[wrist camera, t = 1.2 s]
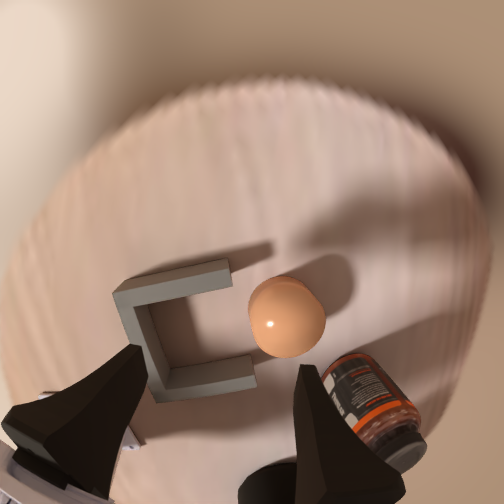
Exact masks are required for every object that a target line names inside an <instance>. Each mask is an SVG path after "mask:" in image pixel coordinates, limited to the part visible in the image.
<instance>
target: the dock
mask: <svg viewBox="0 0 504 504" xmlns="http://www.w3.org/2000/svg"><path fill="white" fill-rule="evenodd" d="M232 286H233V284H232V277H231V271H230V267H229V262H228V258H224V259H220V260H215V261H211V262H206V263H202V264H197V265H192V266H188V267H183V268H179V269H174V270H170V271H165V272H160V273H156V274H151V275H147V276H142V277H137V278H133V279H128V280H125V281H124V282H123V283H122V284H121V285H120V286H119V287H118V288H117V289H116V290H115V291H114V292H113V293H112V295H113V298H114V301H115V304H116V307H117V310H118V312H119V315H120V318H121V321H122V324H123V326H124V329H125V332H126V334H127V337H128V339H129V342H130V344H134V345H140V346H142V350H143V354H144V359H145V363H146V367H147V372H148V376H149V377H148V380H147V384H148V387H149V389H150V391H151V393H152V395H153V397H154V399H155V401H156V403H163V402H172V401H180V400H187V399H194V398H201V397H207V396H214V395H219V394H225V393H230V392H236V391H241V390H246V389H251V388H255V387H257V383H256V378H255V373H254V368H253V364H252V359H251V355H250V354H249V355H245V356H240V357H235V358H230V359H225V360H220V361H215V362H209V363H204V364H198V365H192V366H186V367H180V368H174V369H170V367H169V364H168V362H167V359H166V356H165V354H164V351H163V348H162V346H161V343H160V340H159V337H158V335H157V332H156V329H155V326H154V323H153V320H152V317H151V314H150V311H149V308H148V305H147V304H150V303H155V302H160V301H165V300H170V299H175V298H180V297H185V296H190V295H195V294H199V293H204V292H209V291H214V290H218V289H223V288H228V287H232Z"/></svg>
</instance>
